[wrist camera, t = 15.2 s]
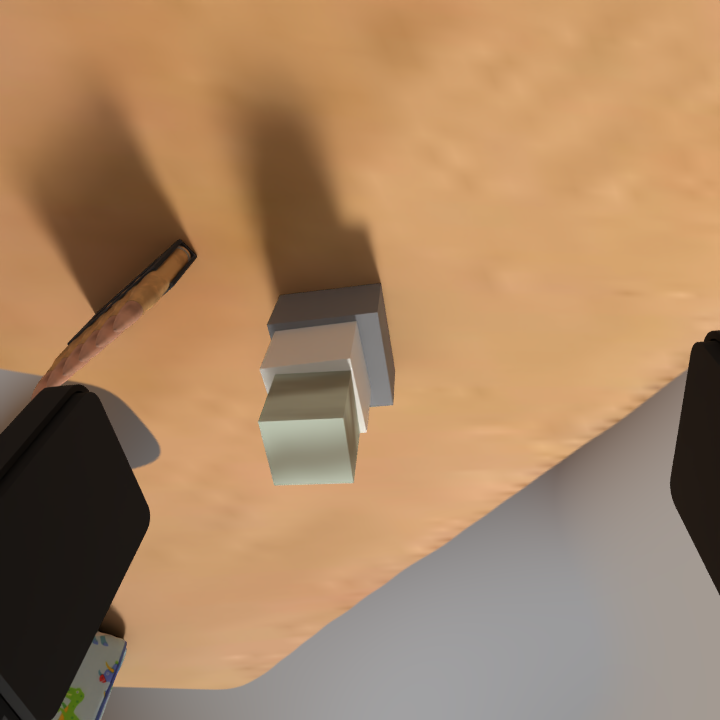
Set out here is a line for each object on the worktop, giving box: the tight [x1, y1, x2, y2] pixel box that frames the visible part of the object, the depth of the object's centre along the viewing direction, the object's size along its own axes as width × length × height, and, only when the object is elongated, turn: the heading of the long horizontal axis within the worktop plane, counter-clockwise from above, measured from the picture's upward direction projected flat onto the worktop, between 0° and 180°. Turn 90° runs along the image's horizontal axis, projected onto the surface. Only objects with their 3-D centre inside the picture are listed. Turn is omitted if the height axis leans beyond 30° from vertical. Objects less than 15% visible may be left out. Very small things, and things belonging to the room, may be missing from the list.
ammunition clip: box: [31, 240, 197, 401], centre depth 42 cm, size 11×2×12 cm, turn 130°
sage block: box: [258, 370, 360, 485], centre depth 38 cm, size 5×5×5 cm
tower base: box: [267, 283, 395, 407], centre depth 46 cm, size 8×8×5 cm
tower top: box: [260, 321, 371, 433], centre depth 42 cm, size 6×6×5 cm
